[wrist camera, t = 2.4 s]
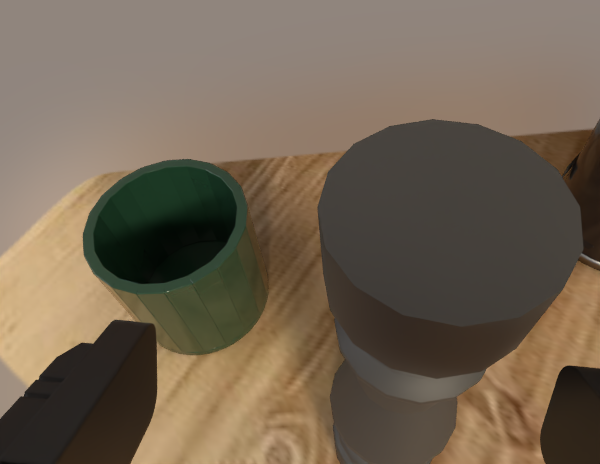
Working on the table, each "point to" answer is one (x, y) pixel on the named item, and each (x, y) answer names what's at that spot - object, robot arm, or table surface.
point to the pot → (180, 254)
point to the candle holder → (434, 275)
